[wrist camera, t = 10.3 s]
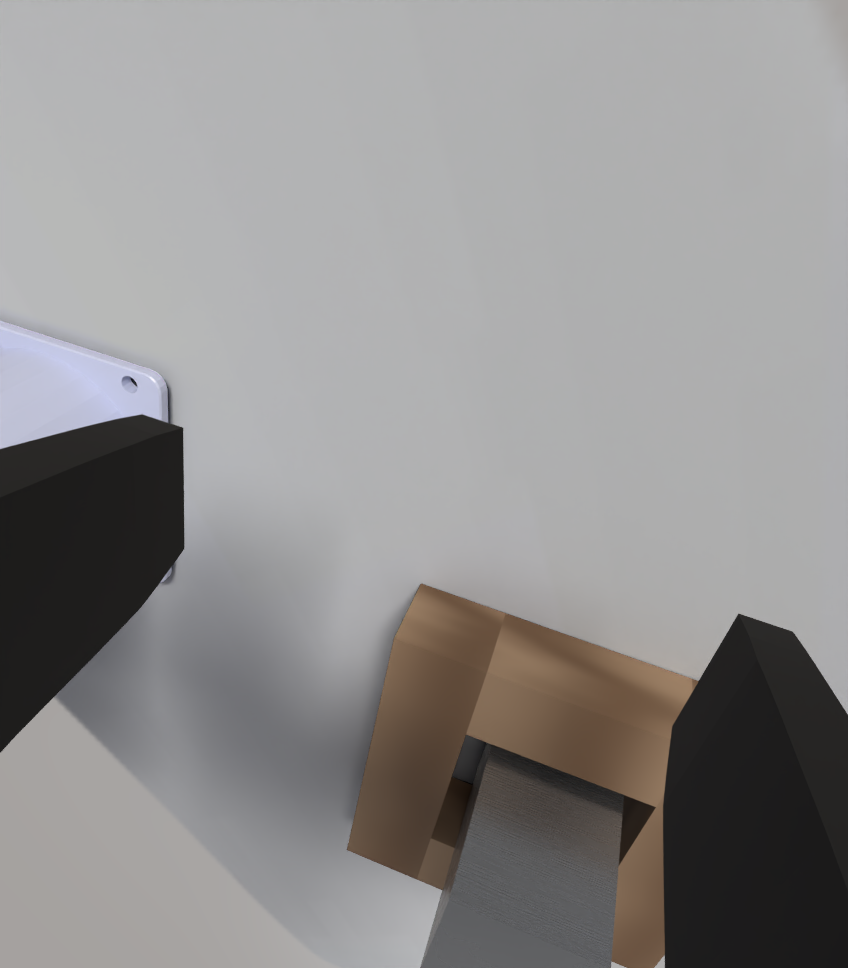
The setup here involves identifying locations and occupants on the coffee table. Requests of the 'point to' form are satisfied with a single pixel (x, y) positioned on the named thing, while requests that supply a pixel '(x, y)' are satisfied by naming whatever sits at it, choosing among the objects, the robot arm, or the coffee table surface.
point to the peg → (530, 871)
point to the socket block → (517, 743)
